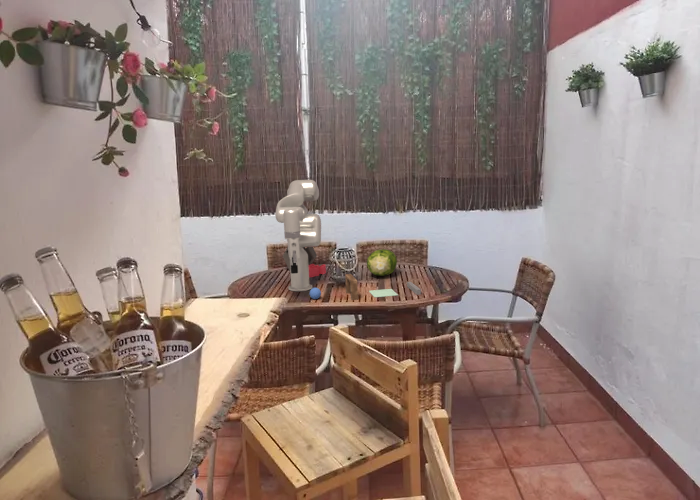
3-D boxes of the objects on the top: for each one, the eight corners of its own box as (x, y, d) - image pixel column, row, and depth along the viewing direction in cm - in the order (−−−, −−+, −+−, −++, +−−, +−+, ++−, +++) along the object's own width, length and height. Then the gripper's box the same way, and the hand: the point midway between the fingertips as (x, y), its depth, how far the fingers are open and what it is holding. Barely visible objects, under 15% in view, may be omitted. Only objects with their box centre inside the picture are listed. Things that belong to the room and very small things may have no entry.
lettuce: (364, 281, 288) (364, 254, 285) (370, 272, 308) (369, 246, 305) (394, 281, 285) (394, 254, 282) (397, 272, 305) (397, 246, 302)
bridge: (351, 300, 253) (351, 281, 251) (345, 292, 267) (345, 274, 265) (357, 299, 254) (357, 280, 252) (351, 291, 268) (351, 273, 266)
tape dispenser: (317, 278, 299) (317, 269, 298) (301, 277, 303) (300, 269, 302) (327, 272, 312) (326, 264, 311) (311, 271, 316) (311, 263, 315)
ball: (309, 297, 259) (308, 286, 258) (320, 296, 260) (319, 285, 259) (310, 301, 254) (310, 289, 253) (322, 300, 255) (321, 288, 254)
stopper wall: (407, 286, 274) (407, 282, 273) (410, 286, 274) (410, 281, 274) (416, 294, 258) (416, 289, 258) (420, 294, 259) (420, 289, 258)
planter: (278, 263, 319) (294, 235, 313) (281, 260, 326) (298, 232, 321) (301, 278, 318) (318, 250, 313) (304, 275, 325) (321, 248, 320)
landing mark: (368, 291, 268) (368, 290, 268) (391, 289, 270) (391, 288, 270) (374, 297, 256) (374, 296, 256) (398, 295, 259) (398, 294, 259)
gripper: (302, 236, 242) (304, 275, 246) (298, 232, 257) (300, 269, 260) (285, 237, 241) (287, 277, 244) (283, 233, 255) (285, 270, 259)
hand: (294, 273), depth 252 cm, fingers closed
